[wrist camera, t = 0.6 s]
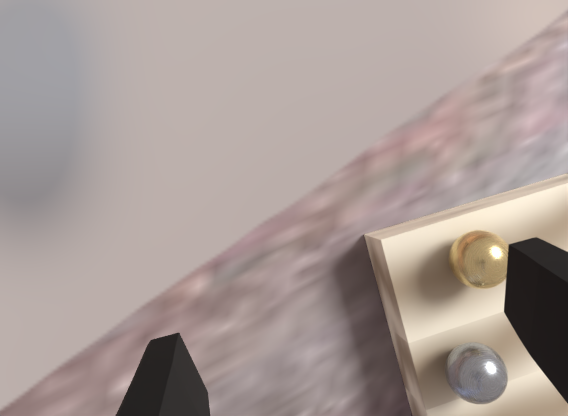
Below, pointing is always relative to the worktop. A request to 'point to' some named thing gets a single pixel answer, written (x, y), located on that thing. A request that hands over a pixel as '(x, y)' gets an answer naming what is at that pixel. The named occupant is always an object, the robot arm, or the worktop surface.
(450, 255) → the brass ball
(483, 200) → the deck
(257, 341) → the worktop surface
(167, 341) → the robot arm
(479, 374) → the steel ball
